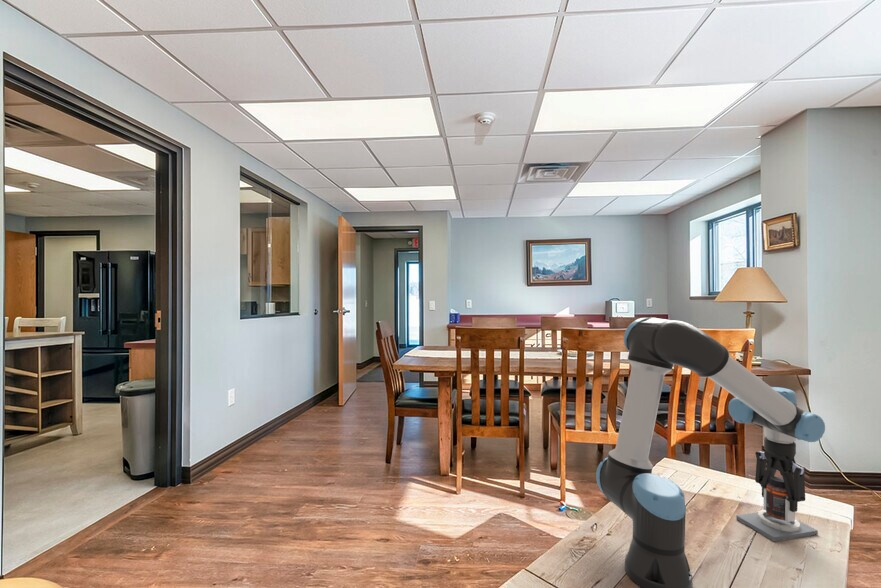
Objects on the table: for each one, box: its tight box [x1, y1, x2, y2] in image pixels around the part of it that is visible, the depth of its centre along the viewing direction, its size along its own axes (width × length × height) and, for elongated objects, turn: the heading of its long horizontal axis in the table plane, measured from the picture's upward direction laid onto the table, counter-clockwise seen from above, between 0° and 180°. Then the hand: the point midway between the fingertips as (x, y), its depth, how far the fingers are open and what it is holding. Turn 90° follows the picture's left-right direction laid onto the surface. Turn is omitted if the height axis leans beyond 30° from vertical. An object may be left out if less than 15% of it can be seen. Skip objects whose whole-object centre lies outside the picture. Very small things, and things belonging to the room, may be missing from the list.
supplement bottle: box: [766, 475, 788, 520], centre depth 129 cm, size 6×6×11 cm
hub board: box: [735, 509, 819, 543], centre depth 129 cm, size 16×12×2 cm
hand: (778, 514), depth 129 cm, fingers closed on supplement bottle, 6 cm apart
